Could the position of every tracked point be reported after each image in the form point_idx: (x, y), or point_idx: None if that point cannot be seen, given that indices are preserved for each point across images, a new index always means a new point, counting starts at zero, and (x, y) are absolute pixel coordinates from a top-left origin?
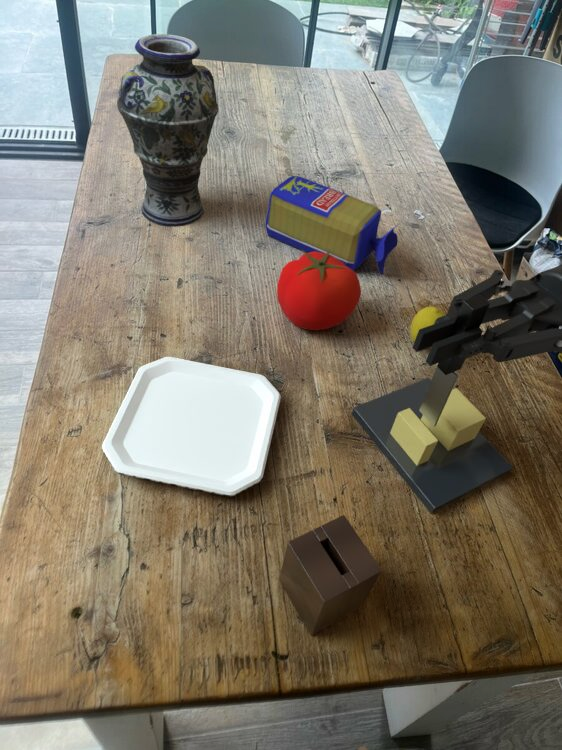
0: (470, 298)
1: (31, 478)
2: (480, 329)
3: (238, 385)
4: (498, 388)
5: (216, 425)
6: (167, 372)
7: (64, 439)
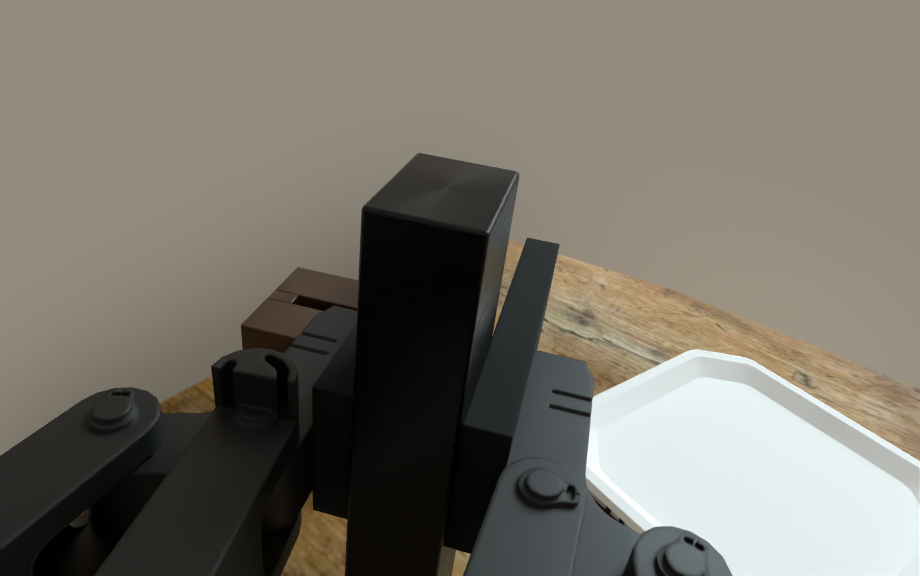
0: (506, 191)
1: (732, 322)
2: (334, 385)
3: None
4: None
5: (734, 498)
6: None
7: (791, 366)
